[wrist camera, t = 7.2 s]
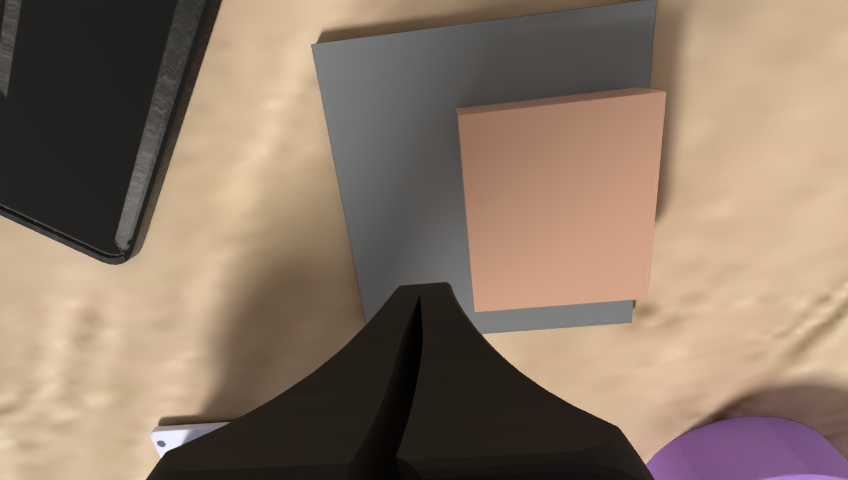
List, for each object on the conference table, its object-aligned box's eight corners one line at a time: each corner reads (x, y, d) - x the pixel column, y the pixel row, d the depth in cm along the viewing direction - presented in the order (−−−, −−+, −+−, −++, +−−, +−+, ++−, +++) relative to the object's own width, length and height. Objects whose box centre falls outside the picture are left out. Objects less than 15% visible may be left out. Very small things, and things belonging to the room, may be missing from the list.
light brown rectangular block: (470, 281, 21) (622, 268, 20) (474, 312, 18) (647, 298, 18) (455, 107, 18) (633, 86, 17) (458, 115, 15) (666, 91, 15)
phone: (226, -47, 16) (125, 273, 21) (240, -40, 17) (140, 263, 22) (4, -180, 15) (-45, 195, 20) (33, -164, 16) (-20, 188, 21)
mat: (626, 315, 22) (631, 322, 21) (371, 335, 23) (369, 342, 22) (649, 0, 16) (656, -2, 16) (314, 44, 17) (310, 44, 17)
